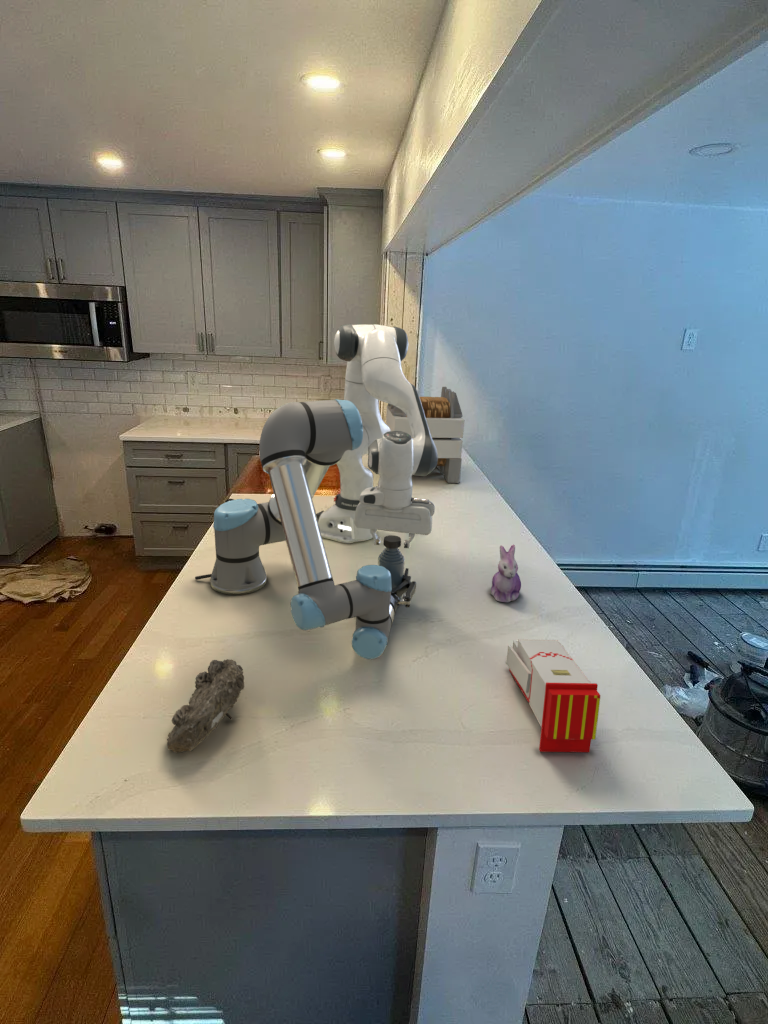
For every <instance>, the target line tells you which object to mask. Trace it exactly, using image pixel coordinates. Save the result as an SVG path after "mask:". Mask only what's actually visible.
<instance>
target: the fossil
mask: <svg viewBox="0 0 768 1024" xmlns="http://www.w3.org/2000/svg"><path fill="white" fill-rule="evenodd" d="M243 670H244V669H243V667H242V665H240V664H237V662H236V661H235V660H234V659H232V658H231V659H227V658H226V659H224V660H223V661H222V660H217V659H212V660H211V661H210V663H209V665H208V666H207V671H201V672H199V673H198V674H197V675H196V676H195V680H194V684H195V685H194V687H195V689H194V690H193V693H192V694H191V697H190V698H189V700H188V704H184V705H182V706H181V707H180V709H177V710H176V711H175V713H174V715H173V716H172V718H171V723H172V724H173V727H172V730H171V731H170V732H168V734H167V738H166V741H167V742H166V745H167V749H168V750H169V751H173V752H174V753H176V754H178V753H182V752H188V751H189V752H192V751H193V750H195V748H196V747H197V746H199V744H200V743H201V742H203V741H204V740H205V739H206V738H207V737H208V736H209V735H210V734H211V733H212V732H214V730H215V729H217V727H218V726H219V724H220V722H221V721H222V720H223V719H224V718H225V716H226V717H227V719H229V720H233V717H232V715H230V714H229V710H230V709H231V708H234V706H235V704H236V703H237V702H238V699H239V697H240V695H241V693H242V691H243V690H245V689H244V688H245V675H244V671H243Z"/></svg>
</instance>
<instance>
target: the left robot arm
mask: <svg viewBox="0 0 768 1024" xmlns="http://www.w3.org/2000/svg"><path fill="white" fill-rule="evenodd" d="M362 440H363V425H362V420H361V416H360V413H359V411H358V409H357V407H356V406H355V405H354V404H353V403H352V402H351V401H348V400H344V399H338V398H335V399H326V400H324V399H323V400H311V401H310V400H309V401H291V402H286V403H284V404H281V405H280V406H279V407H277V408H276V409H274V410H273V411H272V412H271V414H270V415H269V416H268V418H267V419H266V421H265V423H264V425H263V427H262V430H261V432H260V438H259V445H258V450H259V451H258V452H259V461H260V464H261V468H262V471H263V473H266V474H268V476H269V480H270V483H271V484H270V485H271V488H272V492H273V494H272V495H271V496H270V498H269V501H267V502H260V503H257V501H256V500H254V499H250V498H244V499H243V498H236V499H234V500H231V501H228V502H225V501H224V502H223V503H222V504H219V505H218V507H216V508H215V510H214V512H213V524H212V527H213V531H214V547H215V561H214V565H213V569H212V570H211V571H212V572H211V573H208V574H202V575H197V576H195V577H194V579H195V581H199V580H204V579H208V578H209V579H210V586H211V588H212V589H213V590H214V591H216V592H218V593H220V594H224V595H235V596H236V595H238V596H239V595H245V594H250V593H254V592H257V591H259V590H261V589H263V587H264V586H265V585H266V584H267V582H268V581H267V572H266V568H265V565H264V563H263V561H262V559H261V556H260V547H261V546H266V545H270V544H276V543H280V542H285V543H286V547H287V551H288V553H289V554H288V555H289V559H290V562H291V567H292V570H293V574H294V578H295V582H296V586H297V590H298V593H297V594H295V595H293V596H292V598H291V600H290V613H291V618H292V620H293V622H294V624H295V626H296V627H297V628H298V629H300V630H302V631H308V630H309V631H311V630H314V629H318V628H324V627H325V626H329V625H332V624H335V623H339V622H341V621H345V620H350V619H353V618H355V628H354V631H353V633H352V639H351V647H352V649H353V651H354V653H355V654H356V655H357V656H359V657H360V658H363V659H366V660H373V659H377V658H379V657H381V655H382V654H383V653H384V652H385V649H386V647H387V646H388V641H389V636H390V632H391V628H392V626H393V622H394V619H395V615H396V611H397V608H399V606H400V605H404V607H405V608H410V607H411V602H412V601H411V600H412V599H413V597H414V596H415V594H416V591H417V582H416V581H415V580H414V581H412V580H411V579H412V576H411V575H409V571H410V570H409V569H410V568H408V567H406V568H404V576H403V582H402V583H401V584H400V585H398V586H397V587H396V588H393V589H392V583H391V574H390V572H389V570H387V569H386V568H385V567H382V566H379V565H378V564H366V565H363V566H362V567H359V568H358V570H357V572H356V576H355V579H354V580H351V581H346V582H342V583H337V584H335V581H334V578H333V574H332V570H331V567H330V563H329V559H328V554H327V551H326V546H325V543H324V538H323V537H322V535H321V531H320V527H319V524H318V520H317V516H316V514H317V512H316V508H315V505H314V501H313V498H314V496H315V494H316V492H317V491H318V489H319V487H320V485H321V483H322V482H323V479H324V478H325V476H326V474H327V473H328V470H329V468H330V467H332V466H334V465H337V464H336V463H338V462H339V461H340V459H341V458H342V456H343V454H344V452H345V451H347V450H354V449H357V448H359V447H360V445H361V443H362ZM401 595H402V599H400V598H399V597H400V596H401Z"/></svg>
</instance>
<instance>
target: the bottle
mask: <svg viewBox="0 0 768 1024" xmlns="http://www.w3.org/2000/svg"><path fill="white" fill-rule="evenodd" d="M405 562H406V560H405V556H404V555H403V553H402V552H401V550H400V548H395V549H391V548H387V547H385V548H383V550H382V551H381V552H380V554H379V555H378V557H377V565H379V566H382V567H385V568H386V569H387V570H389V572H390V574H391V583H392V589H393V588H396V587H397V586H398V585H400V584H401V583H402V582H403V576H404V573H405V564H406V563H405ZM399 598H400V599H402V598H403V595H401V596H400V597H399Z"/></svg>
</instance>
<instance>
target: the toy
mask: <svg viewBox="0 0 768 1024" xmlns="http://www.w3.org/2000/svg"><path fill="white" fill-rule="evenodd" d="M505 659H506V660H505V665H506V666H507V667H508V671H509V673H510V674H511V676H512V678H513V679H514V681H515V682H516V685H517V686H518V688H519V690H520V691H521V692H522V694H523V697H525V699H526V701H527V703H529V707H530V709H531V711H532V712H533V714H534V716H535V718H536V720H537V722H538V724H539V726H540V728H541V729H540V739H539V748H538V751H539V752H540V753H543V752H544V753H590V752H591V744H592V743H591V742H592V740H596V736H597V727H598V720H599V719H598V718H599V710H600V704H601V703H600V702H601V696H602V695H601V694H600V693H599V692H598V687H599V686H598V683H595V682H594V683H592V682H591V681H590V679H589V678H588V677H587V676H586V674H585V673H584V671H583V670H582V669H581V668H580V666H579V665H578V664H577V663H576V662H575V661H576V660H574V659H573V658H572V656H571V655H570V653H568V651H567V650H566V648H565V647H564V645H563V644H562V643H561V642H560V641H559V639H529V638H528V639H524V638H521V639H517V640H512V645H511V644H510V645H509V644H508V646H507V653H506V658H505Z"/></svg>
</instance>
